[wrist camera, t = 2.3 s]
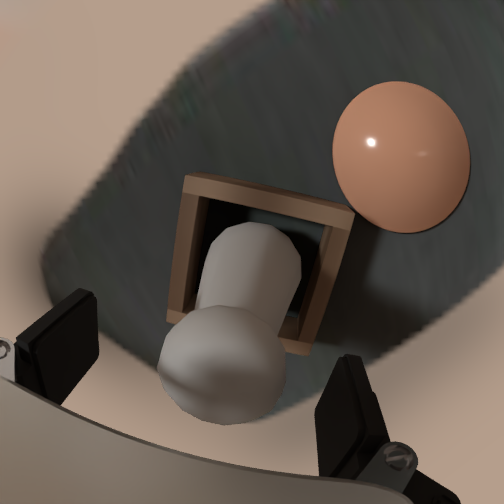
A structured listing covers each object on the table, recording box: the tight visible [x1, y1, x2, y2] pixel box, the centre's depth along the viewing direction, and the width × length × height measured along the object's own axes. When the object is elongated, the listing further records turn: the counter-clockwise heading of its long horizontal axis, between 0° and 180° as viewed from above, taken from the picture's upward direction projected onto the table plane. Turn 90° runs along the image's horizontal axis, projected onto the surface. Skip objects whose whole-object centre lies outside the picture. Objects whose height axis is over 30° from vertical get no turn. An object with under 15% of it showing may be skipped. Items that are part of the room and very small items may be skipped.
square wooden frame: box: [166, 172, 355, 356], centre depth 20 cm, size 10×10×3 cm
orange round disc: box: [332, 81, 470, 233], centre depth 18 cm, size 10×10×1 cm
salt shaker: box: [157, 222, 301, 425], centre depth 15 cm, size 6×6×13 cm
